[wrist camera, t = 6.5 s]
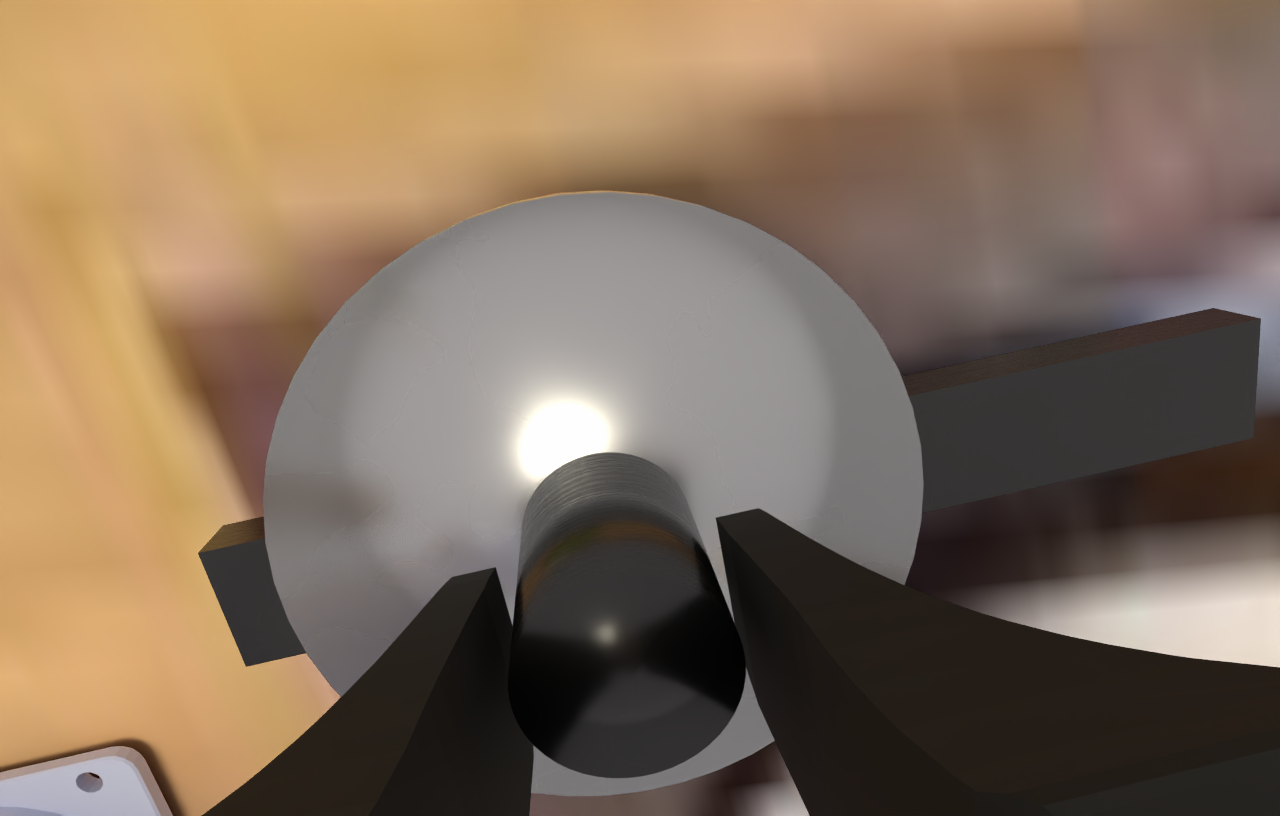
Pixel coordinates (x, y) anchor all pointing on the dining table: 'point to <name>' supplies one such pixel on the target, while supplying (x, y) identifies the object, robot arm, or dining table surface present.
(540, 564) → the lid
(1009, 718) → the robot arm
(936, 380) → the cooker base
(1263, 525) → the dining table surface
